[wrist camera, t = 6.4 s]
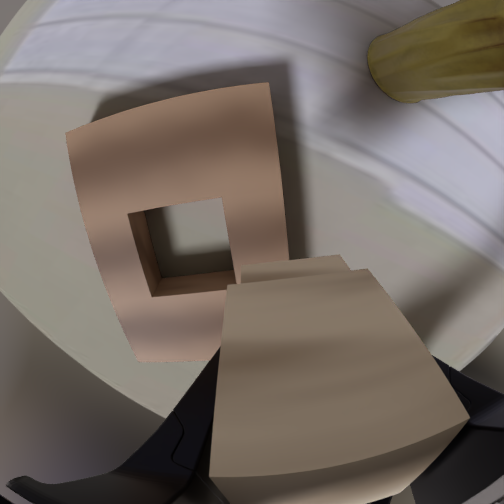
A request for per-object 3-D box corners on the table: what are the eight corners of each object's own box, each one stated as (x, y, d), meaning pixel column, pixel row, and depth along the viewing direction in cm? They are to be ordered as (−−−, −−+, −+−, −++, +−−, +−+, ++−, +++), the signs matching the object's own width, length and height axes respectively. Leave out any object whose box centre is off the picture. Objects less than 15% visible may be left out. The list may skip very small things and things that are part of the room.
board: (290, 329, 25) (295, 351, 22) (146, 341, 25) (138, 362, 23) (265, 90, 17) (268, 82, 14) (86, 131, 18) (65, 133, 15)
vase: (350, 53, 16) (479, -20, 3) (398, 24, 14) (519, -30, 1) (398, 116, 18) (553, 126, 5) (440, 83, 16) (576, 79, 3)
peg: (342, 335, 12) (400, 492, 5) (245, 347, 12) (246, 521, 5) (348, 245, 10) (470, 417, 3) (230, 257, 11) (208, 476, 3)
